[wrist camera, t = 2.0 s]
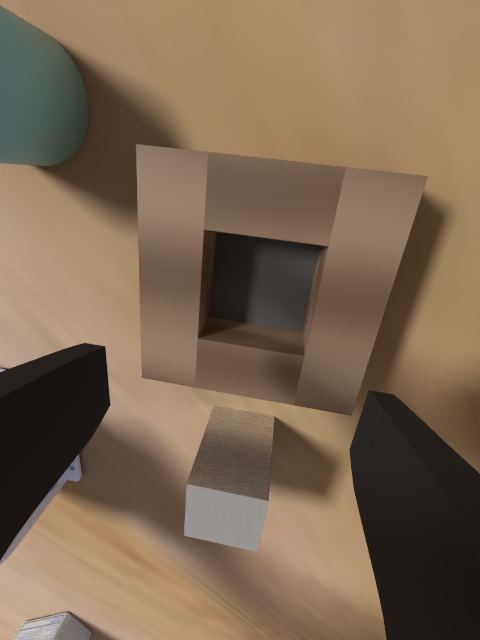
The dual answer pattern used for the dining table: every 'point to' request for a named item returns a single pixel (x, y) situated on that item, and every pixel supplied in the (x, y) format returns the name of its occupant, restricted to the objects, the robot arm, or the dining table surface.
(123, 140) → the dining table surface
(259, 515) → the square bit
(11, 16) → the round bit
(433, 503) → the robot arm
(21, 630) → the medicine box
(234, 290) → the walnut bore block
